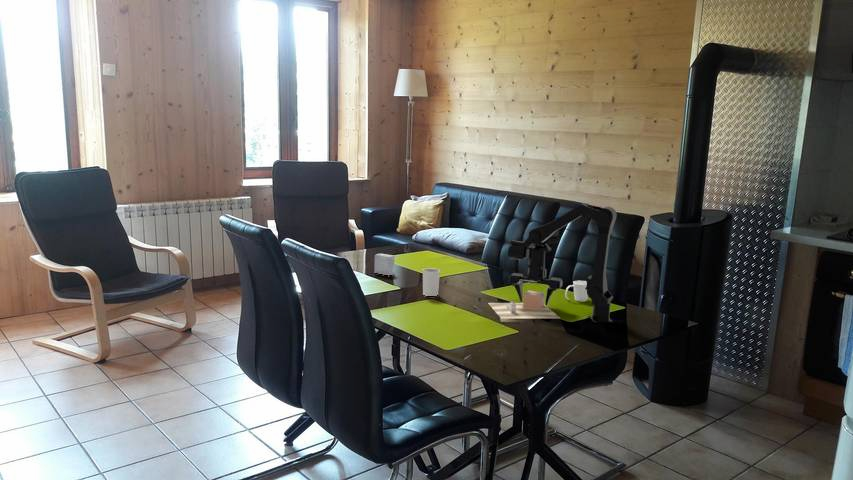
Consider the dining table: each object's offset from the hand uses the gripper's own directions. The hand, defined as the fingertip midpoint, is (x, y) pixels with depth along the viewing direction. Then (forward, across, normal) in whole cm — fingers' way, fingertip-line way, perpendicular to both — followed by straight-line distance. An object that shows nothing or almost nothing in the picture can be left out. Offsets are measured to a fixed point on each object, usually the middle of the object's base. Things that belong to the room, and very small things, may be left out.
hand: (533, 303), depth 247 cm
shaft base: (+2, +2, +7) cm, 8 cm away
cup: (+2, -13, -18) cm, 22 cm away
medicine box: (+3, +72, -24) cm, 76 cm away
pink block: (+1, 0, 0) cm, 1 cm away
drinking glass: (+2, +41, -1) cm, 41 cm away
